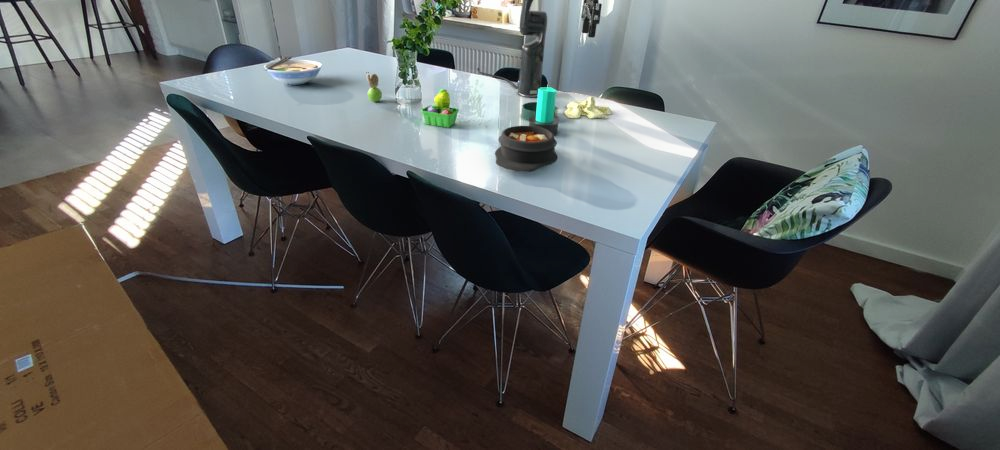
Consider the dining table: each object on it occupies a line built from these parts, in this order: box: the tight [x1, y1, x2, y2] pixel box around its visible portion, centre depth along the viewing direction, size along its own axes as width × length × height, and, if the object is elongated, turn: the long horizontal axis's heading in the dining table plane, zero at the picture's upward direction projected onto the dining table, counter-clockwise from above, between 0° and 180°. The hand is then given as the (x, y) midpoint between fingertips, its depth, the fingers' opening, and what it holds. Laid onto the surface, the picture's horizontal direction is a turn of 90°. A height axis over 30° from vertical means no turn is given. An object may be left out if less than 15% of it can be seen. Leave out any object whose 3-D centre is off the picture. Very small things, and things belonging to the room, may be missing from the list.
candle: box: [536, 85, 557, 123], centre depth 160 cm, size 6×6×12 cm
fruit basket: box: [420, 88, 459, 128], centre depth 164 cm, size 11×9×11 cm
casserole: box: [494, 125, 559, 173], centre depth 139 cm, size 25×19×8 cm
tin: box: [521, 101, 559, 122], centre depth 178 cm, size 13×13×4 cm
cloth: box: [564, 96, 612, 119], centre depth 185 cm, size 22×19×6 cm
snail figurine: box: [365, 71, 383, 103], centre depth 183 cm, size 5×6×12 cm
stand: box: [528, 116, 560, 136], centre depth 164 cm, size 11×11×4 cm
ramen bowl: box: [263, 56, 323, 86], centre depth 203 cm, size 25×23×8 cm
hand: (588, 35), depth 161 cm, fingers open, 8 cm apart
